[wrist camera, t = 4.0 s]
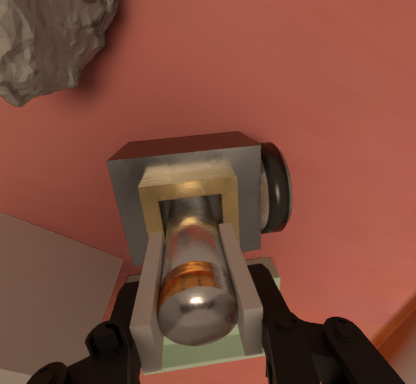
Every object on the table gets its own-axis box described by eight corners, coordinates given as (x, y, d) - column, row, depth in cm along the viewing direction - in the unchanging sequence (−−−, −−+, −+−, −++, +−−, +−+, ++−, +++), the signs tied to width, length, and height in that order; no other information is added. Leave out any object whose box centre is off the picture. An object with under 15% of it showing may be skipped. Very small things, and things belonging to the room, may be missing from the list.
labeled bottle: (171, 234, 20) (164, 351, 11) (165, 196, 19) (150, 293, 9) (213, 229, 20) (240, 339, 11) (210, 190, 19) (237, 280, 10)
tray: (147, 347, 37) (143, 375, 34) (127, 275, 32) (120, 299, 28) (267, 329, 39) (276, 353, 35) (269, 256, 33) (280, 277, 29)
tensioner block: (145, 223, 29) (127, 286, 19) (128, 142, 25) (95, 170, 16) (264, 208, 30) (303, 262, 20) (265, 128, 26) (313, 147, 16)
